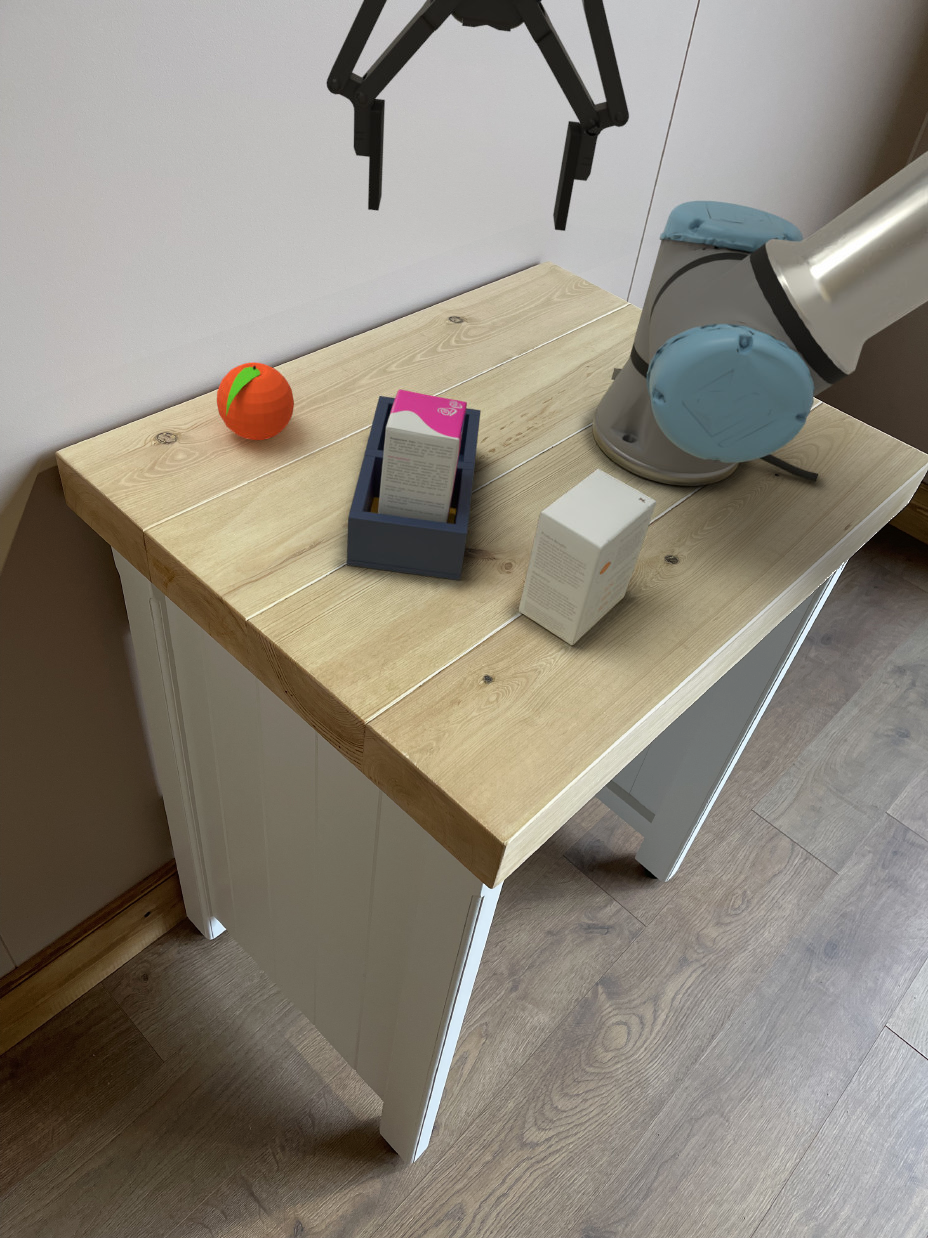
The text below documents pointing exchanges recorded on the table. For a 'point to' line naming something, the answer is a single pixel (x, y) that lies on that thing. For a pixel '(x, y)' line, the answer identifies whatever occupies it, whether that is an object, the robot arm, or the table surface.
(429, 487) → the supplement box
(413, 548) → the holder
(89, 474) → the table surface
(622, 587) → the small box
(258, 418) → the clementine
